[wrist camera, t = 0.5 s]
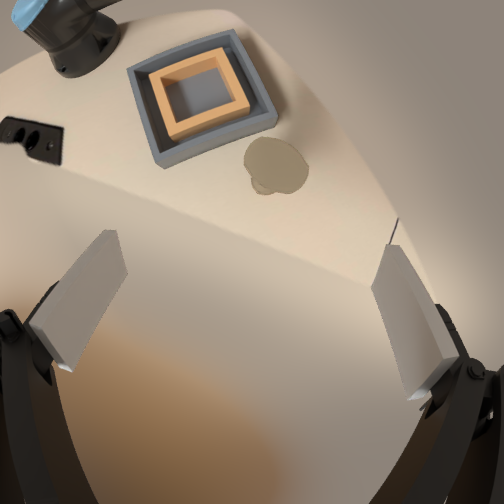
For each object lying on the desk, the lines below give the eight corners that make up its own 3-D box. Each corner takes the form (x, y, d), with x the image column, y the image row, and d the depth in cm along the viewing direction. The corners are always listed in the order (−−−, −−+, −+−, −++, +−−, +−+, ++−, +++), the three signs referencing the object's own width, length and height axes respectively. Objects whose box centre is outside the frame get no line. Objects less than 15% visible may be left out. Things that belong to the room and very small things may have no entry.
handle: (253, 160, 40) (261, 127, 25) (289, 183, 40) (316, 162, 26) (236, 186, 40) (234, 167, 25) (272, 209, 41) (291, 203, 26)
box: (136, 81, 37) (126, 68, 32) (233, 45, 37) (233, 28, 32) (164, 169, 39) (155, 162, 34) (274, 127, 39) (278, 116, 34)
